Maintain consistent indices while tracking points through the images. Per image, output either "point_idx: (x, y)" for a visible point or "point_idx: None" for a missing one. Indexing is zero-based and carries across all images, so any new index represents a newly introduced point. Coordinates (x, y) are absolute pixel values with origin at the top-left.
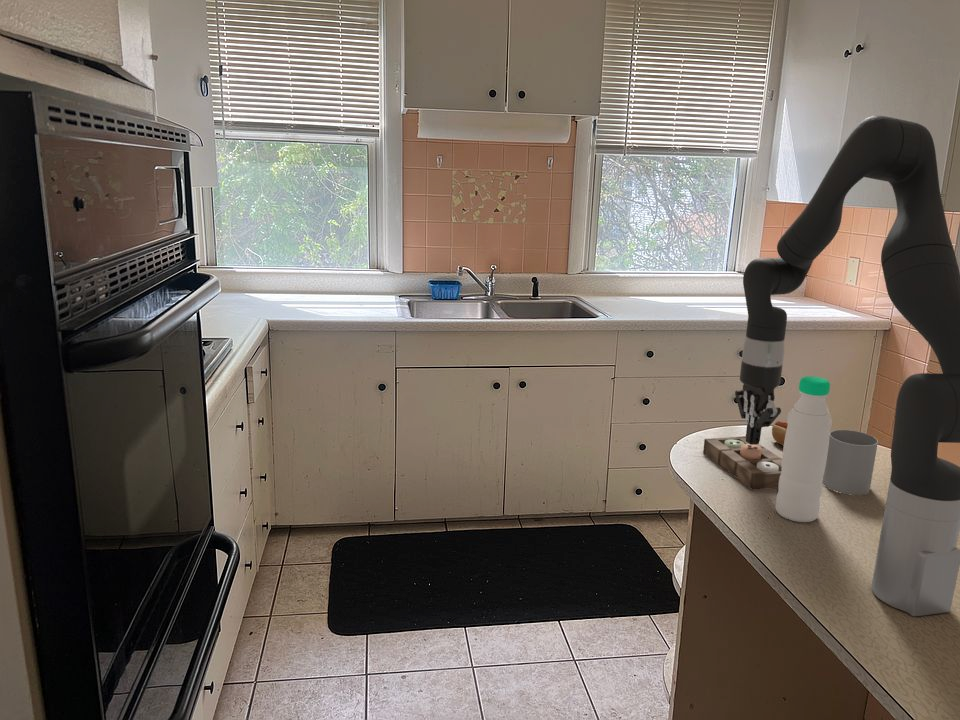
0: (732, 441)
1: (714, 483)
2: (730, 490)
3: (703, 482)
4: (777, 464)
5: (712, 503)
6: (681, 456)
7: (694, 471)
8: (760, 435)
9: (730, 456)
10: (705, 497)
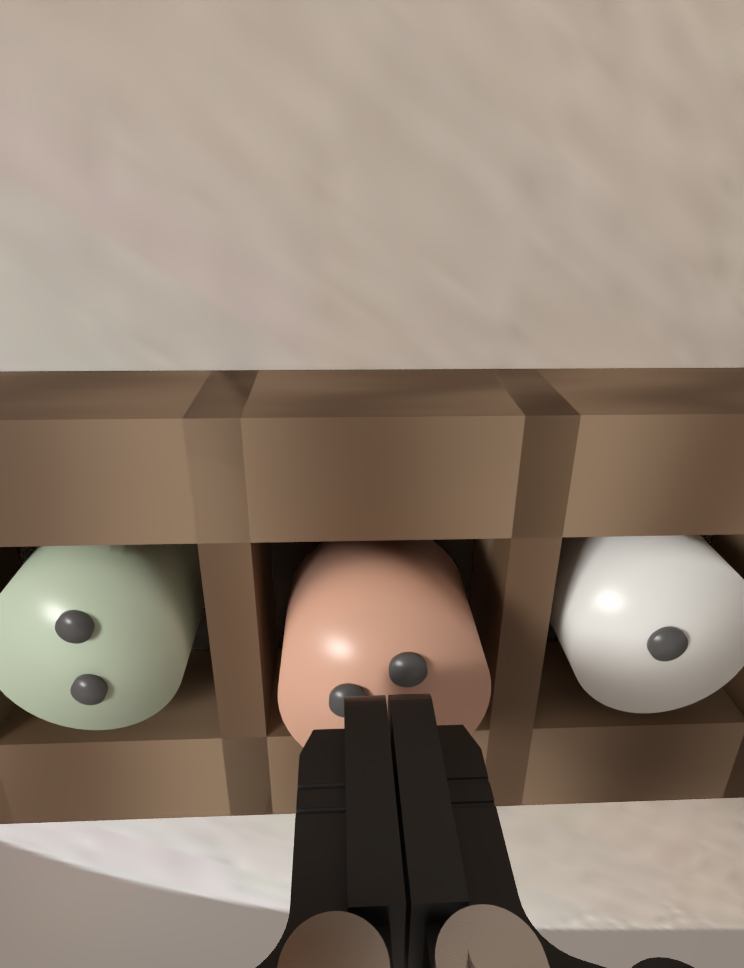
0: (41, 658)
1: (537, 843)
2: (649, 809)
3: None
4: (659, 534)
5: (738, 923)
6: (108, 859)
7: None
8: (494, 806)
9: None
10: (669, 927)
